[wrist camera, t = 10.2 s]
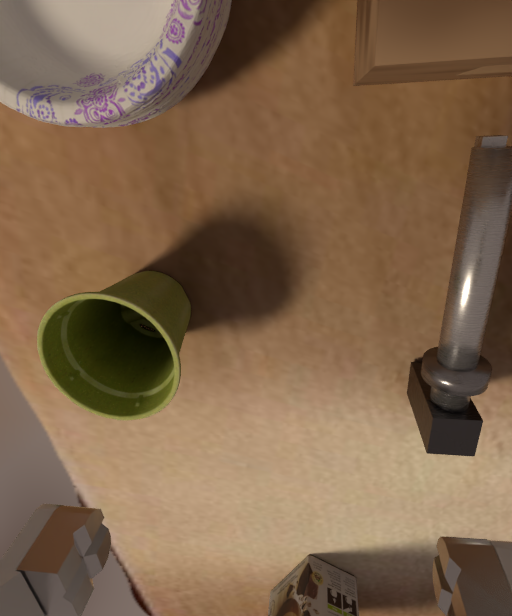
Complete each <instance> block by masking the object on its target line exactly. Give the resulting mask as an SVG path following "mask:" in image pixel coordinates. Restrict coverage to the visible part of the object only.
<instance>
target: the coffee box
mask: <svg viewBox="0 0 512 616" xmlns="http://www.w3.org/2000/svg"><path fill="white" fill-rule="evenodd" d="M268 616H359V610H358V597H357V582H356V578H355V577H354V576H352V575H350V574H348V573H346V572H344V571H342V570H340V569H338V568H336V567H334V566H332V565H330V564H328V563H326V562H323V561H321V560H319V559H317V558H316V557H314V556H312V555H310V556H307V557H306V558H305V559H304V560H303V561H302V562H301V563H300V564H299V565H298V566H297V567H296V568H295V569H294V570H293V571H292V572H291V573H290V574H288V575H287V576H286V577H285V578H284V579H283V580H282V581H281V582H280V583H279V584H278V585H277V586H276V587H275V588H274V589H273V590H272V591H271V592H270V601H269V611H268Z"/></svg>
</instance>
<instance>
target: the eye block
mask: <svg viewBox="0 0 512 616" xmlns="http://www.w3.org/2000/svg"><path fill="white" fill-rule="evenodd" d="M502 76H512V0H358V3H357V23H356V43H355V64H354V84H353V86H359V85H375V84H391V83H407V82H423V81H438V80H454V79H470V78H486V77H502Z"/></svg>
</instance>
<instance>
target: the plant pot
mask: <svg viewBox="0 0 512 616" xmlns="http://www.w3.org/2000/svg"><path fill="white" fill-rule="evenodd" d="M190 316H191V305H190V302H189V300H188V298H187V296H186V294H185V292H184V290H183V288H182V286H181V285H180V284H179V283H178V282H177V281H175V280H174V279H173V278H171V277H169V276H167V275H165V274H163V273H160V272H155V271H143V272H139V273H136V274H133V275H131V276H129V277H127V278H125V279H124V280H122V281H120V282H118V283H116V284H114V285H112V286H110V287H108V288H106V289H104V290H102V291H100V292H85V293H78V294H74V295H71V296H68V297H66V298H64V299H62V300H61V301H59V302H57V303H56V304H54V305H53V306H52V307H51V308H50V309H49V310H48V311H47V312H46V314H45V315H44V317H43V319H42V321H41V323H40V325H39V329H38V336H37V347H38V354H39V356H40V360H41V363H42V366H43V368H44V370H45V372H46V373H47V375H48V377H49V378H50V380H51V381H52V383H53V384H54V385H55V387H56V388H58V390H59V391H60V392H62V393H63V394H64V395H65V396H66V397H67V398H69V399H70V400H71V401H72V402H74V403H75V404H76V405H78V406H79V407H81V408H83V409H85V410H87V411H89V412H91V413H94V414H96V415H98V416H102V417H105V418H112V419H116V420H136V419H143V418H146V417H149V416H151V415H154V414H156V413H158V412H160V411H161V410H162V409H164V408H165V407H166V406H167V405H168V404H169V403H170V401H171V400H172V399H173V397H174V395H175V393H176V391H177V389H178V386H179V382H180V376H181V363H180V357H179V352H180V349H181V346H182V342H183V339H184V336H185V333H186V330H187V327H188V323H189V320H190ZM140 324H144V325H145V326H147V327H150V328H152V329H155V331H154V332H151V331H149V330H145V329H144V328H142V327H141V326H140Z"/></svg>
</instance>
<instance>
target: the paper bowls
mask: <svg viewBox="0 0 512 616" xmlns="http://www.w3.org/2000/svg"><path fill="white" fill-rule="evenodd" d="M231 1H232V0H0V102H1V103H3V104H5V105H6V106H8V107H10V108H12V109H14V110H16V111H18V112H20V113H22V114H24V115H27V116H28V117H31V118H34V119H36V120H39V121H43V122H47V123H51V124H57V125H61V126H70V127H103V128H106V127H119V126H127V125H131V124H136V123H140V122H143V121H146V120H149V119H151V118H154V117H156V116H158V115H160V114H162V113H164V112H166V111H167V110H169V109H170V108H172V107H173V106H175V105H176V104H177V103H179V102H180V101H181V100H182V99H183V98H184V97H185V96H186V95H187V94H188V93H189V92H190V91H191V90H192V89H193V87H194V86H195V85H196V84H197V82H198V81H199V80H200V78H201V77H202V75H203V74H204V73H205V71H206V70H207V68H208V66H209V64H210V62H211V60H212V58H213V56H214V54H215V52H216V50H217V48H218V46H219V44H220V41H221V39H222V36H223V34H224V31H225V29H226V26H227V22H228V18H229V13H230V9H231Z"/></svg>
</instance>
